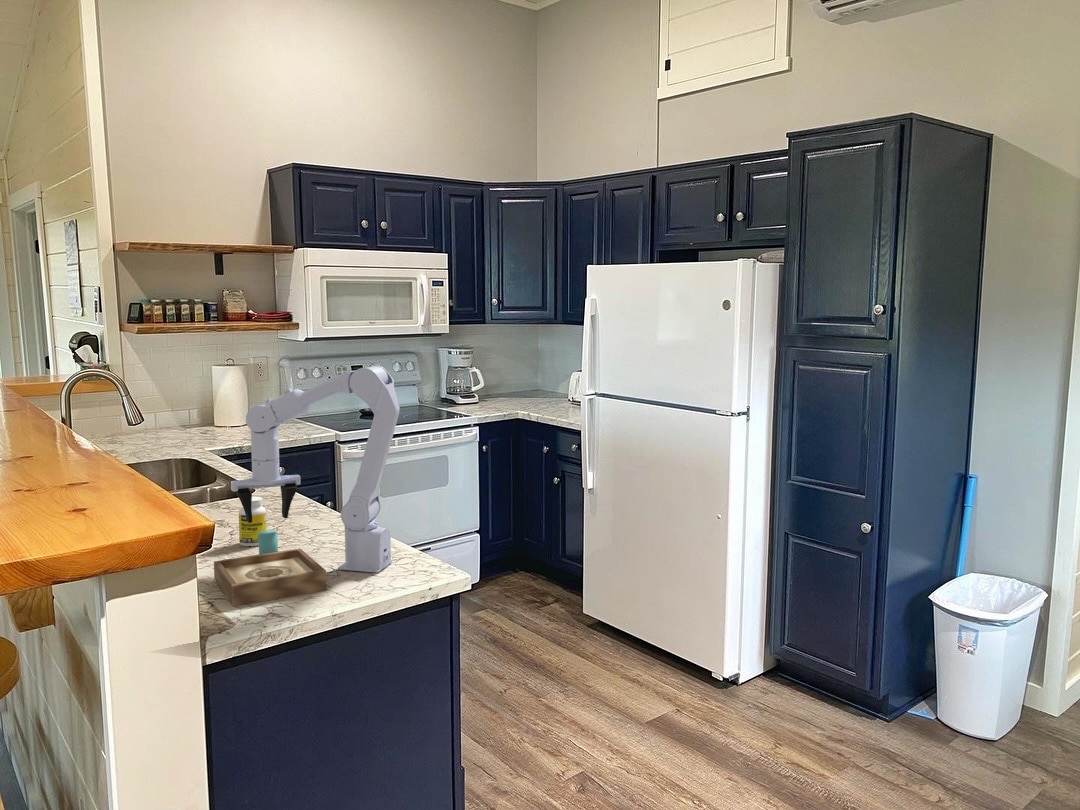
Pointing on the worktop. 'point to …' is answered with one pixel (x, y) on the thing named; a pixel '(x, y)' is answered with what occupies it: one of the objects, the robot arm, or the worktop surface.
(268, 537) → the peg
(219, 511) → the worktop surface
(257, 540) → the pill bottle
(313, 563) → the walnut box
